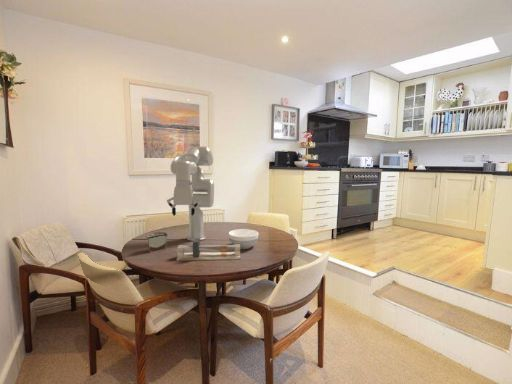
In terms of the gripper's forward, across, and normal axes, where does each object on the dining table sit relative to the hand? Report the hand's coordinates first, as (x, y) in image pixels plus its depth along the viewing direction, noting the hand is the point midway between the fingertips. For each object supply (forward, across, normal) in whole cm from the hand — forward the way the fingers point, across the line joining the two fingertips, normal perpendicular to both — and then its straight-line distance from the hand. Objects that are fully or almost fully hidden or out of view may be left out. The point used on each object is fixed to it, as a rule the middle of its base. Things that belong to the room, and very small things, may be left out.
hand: (183, 215), depth 135 cm
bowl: (+23, -34, -18) cm, 45 cm away
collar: (+22, -7, 0) cm, 23 cm away
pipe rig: (+24, -14, 0) cm, 27 cm away
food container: (+24, +19, -15) cm, 34 cm away
